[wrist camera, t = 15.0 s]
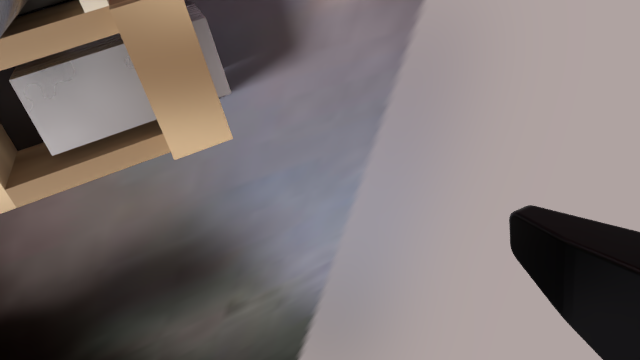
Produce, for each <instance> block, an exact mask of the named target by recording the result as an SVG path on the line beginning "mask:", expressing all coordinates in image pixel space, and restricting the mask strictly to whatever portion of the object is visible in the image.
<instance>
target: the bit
mask: <svg viewBox="0 0 640 360" xmlns="http://www.w3.org/2000/svg"><path fill="white" fill-rule="evenodd" d="M27 1H28V0H0V37H1V36H2V35H3V33H4V32H5V31H6V29H7V28H8V27H9V25H10V24H11V23H12V21H13V20H14V19H15V17H16V16H17V15H18V13H19V12H20V11H21V9H22V8H23V6H24V5H25V4H26V2H27Z"/></svg>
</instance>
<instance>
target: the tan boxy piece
mask: <svg viewBox="0 0 640 360" xmlns="http://www.w3.org/2000/svg"><path fill="white" fill-rule="evenodd" d="M61 1H65V0H28V1H27V2H26V4H25V5H24V6H23V8H22V9H21V11H20V12H19V13H18V14H21V13H25V12H28V11H31V10H35V9H38V8H41V7H45V6H48V5H51V4H55V3H58V2H61ZM79 1H80V3H81V6H82V8H83V10H84V12H85V13H87V12H90V11H93V10H96V9H100V8H103V7H106V6H109V0H79Z"/></svg>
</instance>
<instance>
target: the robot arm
mask: <svg viewBox="0 0 640 360" xmlns="http://www.w3.org/2000/svg"><path fill="white" fill-rule="evenodd" d="M509 222H510V244H511V249H512V252H513V254H514V256H515V257H516V259H517V260H518V261H519V262H520V264H521V265H522V266H523V268H524V269H525V270H526V271H527V273H528V274H529V275H530V276H531V278H532V279H533V280H534V282H535V283H536V284H537V286H538V287H539V288H540V289H541V291H542V292H543V293H544V295H545V296H546V297H547V298H548V300H549V301H550V302H551V304H552V305H553V306H554V307H555V309H556V310H557V311H558V312H559V313H560V314H561V316H562V317H563V318H564V319H565V320H566V321H567V323H569V325H570V326H571V327H572V328H573V329H574V330H575V331H576V332H577V333H578V334H579V335H580V336H581V337H582V338H583V339H584V340H585V341H586V342H587V344H588V345H589V346H590V347H591V348H592V349H593V350H594V351H595V352H596V353H597V354H598V355H599V356H600V357H601V358H602V359H603V360H640V232H637V231H633V230H629V229H625V228H621V227H617V226H613V225H609V224H605V223H601V222H597V221H593V220H589V219H585V218H581V217H577V216H573V215H569V214H565V213H560V212H557V211H553V210H548V209H544V208H541V207H537V206H531V205H530V206H526V207H523V208H521V209H519V210H516V211H514V212H513V213H511V215H510V219H509Z"/></svg>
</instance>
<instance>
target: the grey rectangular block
mask: <svg viewBox="0 0 640 360" xmlns="http://www.w3.org/2000/svg"><path fill="white" fill-rule="evenodd" d="M186 7H187V10H188V13H189V16H190V19H191V22H192V24H193V27H194V30H195V33H196V36H197V38H198V41H199V44H200V47H201V50H202V53H203V55H204V58H205V61H206V64H207V67H208V70H209V72H210V75H211V78H212V81H213V84H214V86H215V89H216V92H217V95H218V98H219V97H222V96H225V95H228V94H231V90H230V88H229V85H228V82H227V79H226V76H225V73H224V70H223V67H222V64H221V61H220V58H219V55H218V52H217V49H216V46H215V43H214V40H213V37H212V34H211V31H210V28H209V26H208V23H207V20H206V17H205V16H204V15H203V14H202V12H201V11H200V10H199V9H198V8H197V6H196V5H195V4H194V3H193V4H190V5H187V6H186ZM9 82H10V83H11V85H12V87H13V89H14V90H15V92H16V94H17V95H18V97H19V99H20V101H21V102H22V104H23V106H24V108H25V109H26V111H27V113H28V115H29V116H30V118H31V120H32V122H33V123H34V125H35V127H36V129H37V130H38V132H39V134H40V136H41V137H42V139H43V141H44V143H45V144H46V146H47V148H48V150H49V151H50V153H51V155H52V156H54V155H56V154H59V153H62V152H65V151H68V150H71V149H74V148H76V147H79V146H82V145H85V144H88V143H91V142H94V141H96V140H99V139H102V138H105V137H108V136H111V135H114V134H116V133H119V132H122V131H125V130H128V129H131V128H134V127H136V126H139V125H142V124H145V123H148V122H151V121H154V120H156V116H155V114H154V112H153V109H152V107H151V105H150V102H149V100H148V98H147V95H146V93H145V91H144V89H143V86H142V84H141V82H140V79H139V77H138V75H137V72H136V70H135V68H134V65H133V63H132V61H131V58H130V56H129V54H128V52H127V49H126V47H125V45H124V42H123V40H122V38H121V35H120V33H118V34H115V35H112V36H109V37H106V38H103V39H99V40H96V41H93V42H90V43H87V44H84V45H80V46H77V47H74V48H71V49H68V50H65V51H61V52H58V53H55V54H52V55H49V56H46V57H42V58H39V59H36V60H33V61H30V62H27V63H23V64H20V65H17V66H16V68H15V69H14V71H13V73H12V75H11V77H10V79H9Z"/></svg>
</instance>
